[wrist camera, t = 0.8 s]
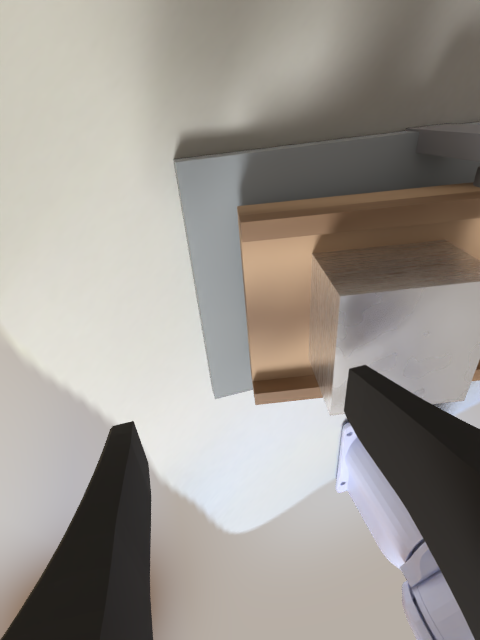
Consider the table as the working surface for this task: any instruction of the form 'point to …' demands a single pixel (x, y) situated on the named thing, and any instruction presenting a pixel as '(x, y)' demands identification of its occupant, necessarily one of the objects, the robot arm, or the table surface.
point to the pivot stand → (287, 185)
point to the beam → (325, 236)
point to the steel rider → (396, 319)
